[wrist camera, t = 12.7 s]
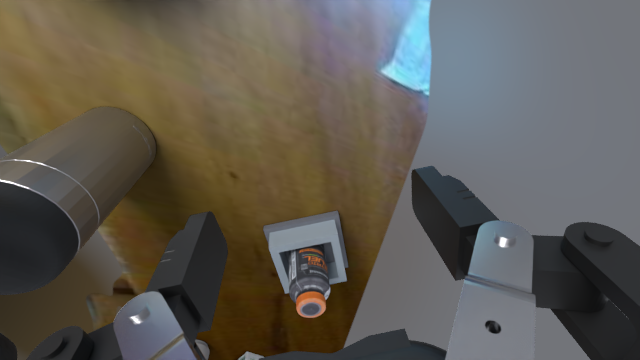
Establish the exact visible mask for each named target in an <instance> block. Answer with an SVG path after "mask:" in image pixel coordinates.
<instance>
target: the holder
mask: <svg viewBox="0 0 640 360" xmlns="http://www.w3.org/2000/svg"><path fill="white" fill-rule="evenodd" d="M263 230H264V233H265V236H266V239H267V241H268V244H269V251H270V253H271V256H272V259H273V261H274V264H275V267H276V269H277V272H278V275H279V278H280V280H281V283H282V286H283V288H284V291H285V294H286V293H289V250H294V249H299V248H303V247H308V246H313V245H318V244H323V246H324V250H325V256H326V262H327V269H328V276H329V283H330V284H334V283H339V282H344V281H347V278H346V273H345V268H347V267H348V262H347V257H346V251H345V246H344V240H343V235H342V230H341V224H340V219H339V214H338V211H333V212H328V213H324V214H319V215H314V216H309V217H304V218H300V219H295V220H290V221H285V222H280V223H276V224H271V225H266V226H264V229H263Z"/></svg>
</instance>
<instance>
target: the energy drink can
mask: <svg viewBox="0 0 640 360" xmlns="http://www.w3.org/2000/svg"><path fill="white" fill-rule="evenodd" d="M195 342H196V344H197V345H198V347H199V349H200V350H201V352H202V354H203V355H204V357H205V359H206V360H208V357H209V352H210V351H209V348H208V345H207V344H206V343H205V342H203V341H201V340H195Z"/></svg>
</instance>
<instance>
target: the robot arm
mask: <svg viewBox="0 0 640 360" xmlns="http://www.w3.org/2000/svg"><path fill="white" fill-rule="evenodd" d="M155 156H156V143H155V140H154V137H153V135H152V133H151V132H150V130H149V129H148V127H147V126H146V125H145V124H144V123H143V122H142V121H141V120H139V119H138V118H137V117H136V116H134V115H132V114H130V113H129V112H127V111H124V110H121V109H118V108H112V107H98V108H94V109H91V110H89V111H87V112H85V113H83V114H82V115H80V116H78V117H76V118H74V119H72V120H71V121H68V122H67V123H65V124H63V125H61V126H59V127H58V128H56V129H54V130H52V131H50V132H48V133H47V134H45V135H43V136H41V137H39V138H38V139H36V140H34V141H32V142H30V143H28V144H27V145H25V146H23V147H21V148H19V149H18V150H16V151H14V152H12V153H10V154H8V155H7V156H5V157H3V158H1V159H0V295H7V294H19V293H24V292H29V291H33V290H36V289H38V288H41V287H43V286H45V285H46V284H48V283H49V282H51V281H52V280H54V279H55V278H56V277H57V276H58V275H59V274H60V273H61V272H62V271H63V270H64V269H65V268H66V266H67V265H68V264H69V262H70V261H71V260H72V259H73V258H74V257H75V255H76V254H77V253H78V252H79V250H80V249H81V248H82V247H83V246H84V245H85V243H86V242H87V241H88V240H89V239H90V237H91V236H92V235H93V234H94V232H95V231H96V230H97V229H98V227H99V226H100V225H101V224H102V223H103V221H104V220H105V219H106V218H107V217H108V215H109V214H110V213H111V212H112V211H113V209H114V208H115V207H116V206H117V205H118V203H119V202H120V201H121V200H122V198H123V197H124V196H125V195H126V194H127V192H128V191H129V190H130V189H131V188H132V186H133V185H134V184H135V183H136V182H137V180H138V179H139V178H140V177H141V176H142V174H143V173H144V172H145V171H146V170H147V168H148V167H149V166H150V165H151V163H152V162H153V161H154V158H155ZM412 205H413V210H414V213H415V215H416V217H417V219H418V220H419V222H420V223H421V225H422V227H423V229H424V230H425V232H426V233H427V235H428V237H429V238H430V240H431V241H432V243H433V245H434V246H435V248H436V250H437V251H438V253H439V255H440V256H441V258H442V259H443V261H444V263H445V264H446V266H447V268H448V269H449V271H450V272H451V274H452V276H453V277H454V279H455V280H461V279H465V281H464V285H463V289H462V293H461V297H460V301H459V305H458V309H457V313H456V317H455V321H454V325H453V330H452V334H451V338H450V342H449V346H448V350H447V351H445V350H443V349H441V348H439V347H436V346H434V345H431V344H427V343H424V342H419V341H411V340H408V337H407V334H406V331H405V329H400V330H396V331H390V332H386V333H381V334H376V335H371V336H368V337H366V338H364V339H362V340H360V341H358V342H356V343H354V344H352V345H350V346H348V347H346V348H344V349H342V350H340V351H338V352H335V353H330V354H329V353H314V352H299V351H293V352H288V353H283V354H278V355H273V356H269V357H264V358H259V360H534V348H535V311H536V307H541V308H550V309H551V310H552V311H553V313H554V314H555V315H556V316H557V318H558V319H559V320H560V321H561V323H562V324H563V325H564V326H565V328H566V329H567V330H568V332H569V333H570V334H571V335H572V337H573V338H574V339H575V340H576V342H577V343H578V344H579V346H580V347H581V348H582V349H583V351H584V352H585V353H586V354H587V356H588V357H589V358H590V359H591V360H640V246H639V245H637V244H636V243H635V242H633V241H632V240H630V239H629V238H628V237H626V236H625V235H624V234H622V233H621V232H619V231H617V230H615V229H613V228H610V227H608V226H604V225H601V224H597V223H589V222H580V223H574V224H572V225H570V226H568V227H567V228H566V230H565V233H564V236H536V235H531V234H530V233H529V232H528V231H527V230H526V229H525V228H523V227H521V226H519V225H517V224H515V223H512V222H507V221H500V220H499V219H498V218H497V217H496V216H495V215H494V214H493V213H492V212H491V211H490V210H489V209H488V208H487V207H486V206H485V205H484V204H483V203H482V202H481V201H480V200H479V199H478V198H477V197H475V195H474V194H473V193H472V192H471V191H469V189H468V188H467V187H466V186H465V185H464V184H463V183H462V182H461V181H460V180H458V179H456V178H453V177H451V176H449V175H448V176H442V175H441V174H440V173H439V172H438V171H437V170H436V169H435V167H433V166H428V167H423V168H419V169H414V170H413V171H412ZM227 253H228V250H227V243H226V240H225V238H224V236H223V233H222V231H221V229H220V227H219V225H218V223H217V221H216V218H215V216H214V214H213V213H212V212H210V211H209V212H204V213H199V214H195V215H191V216H190V217H189V219H188V221H187V223H186V225H185V228H184V230H179V231H178V233H177V234H176V235H175V236H174V237H173V238H172V239H171V240H170V241H169V243H168V245H167V247H166V250H165V253H164V254H163V256H162V258H161V262H159V264H158V266H157V268H156V270H155V272H154V274H153V276H152V279H151V281H150V283H149V285H148V287H147V289H146V291H145V293H143V294H141V295H139V296H137V297H135V298H133V299H132V300H130V301H129V302H128V303H127V304H126V305H125V306H124V307H123V308H122V309H121V310H120V311H119V313H118V314H117V315H116V317H115V320H114V322H113V323H110V324H108V325H106V326H104V327H102V328H100V329H98V330H95V331H93V332H91V333H89V334H87V333H86V332H84V331H83V330H82V329H81V328H80V327H78V326H70V327H66V328H64V329H61V330H59V331H57V332H55V333H53V334H52V335H51V336H49V337H47V338H46V339H45V340H44V341H42V342H41V343H40V344H39V345H38V346H37V347H36V348H35V349H34V350H33V351H32V352H31V354H30V355H29V357H28V358H27V360H206V359H205V357H204V355H203V354H202V352H201V350H200V349H199V347H198V345H197V344H196V342H195V340H196V336H197V333H198V332H203V331H208V330H210V329H211V325H212V321H213V316H214V312H215V307H216V303H217V299H218V294H219V290H220V285H221V281H222V276H223V272H224V268H225V263H226V259H227ZM613 303H614V304H615V305H616V306H617V307H618V308H619V309H620V310H621V311H622V312H623V313H624V314H625V315H626V316H627V317H628V318H627V317H626V316H625V315H624V314H623V313H622V312H621V311H620V310H619V309H618V308H617V307H616V306H615V305H614V304H613ZM0 360H17V349H16V346H15V345H14V343H13V342H11V341H10V340H9V339H8V338H7V337H5V336H4V335H2V334H1V333H0Z"/></svg>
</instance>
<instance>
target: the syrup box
mask: <svg viewBox="0 0 640 360" xmlns="http://www.w3.org/2000/svg"><path fill="white" fill-rule="evenodd" d="M259 358H264V357H263V356H260V355H257V354H254V353H251V352H246V353H245V354H244V355H243V356H241V357H240V358H239V359H238V360H259Z"/></svg>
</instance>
